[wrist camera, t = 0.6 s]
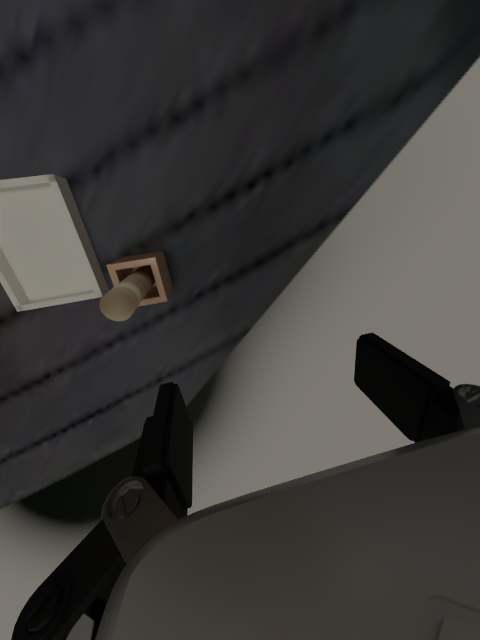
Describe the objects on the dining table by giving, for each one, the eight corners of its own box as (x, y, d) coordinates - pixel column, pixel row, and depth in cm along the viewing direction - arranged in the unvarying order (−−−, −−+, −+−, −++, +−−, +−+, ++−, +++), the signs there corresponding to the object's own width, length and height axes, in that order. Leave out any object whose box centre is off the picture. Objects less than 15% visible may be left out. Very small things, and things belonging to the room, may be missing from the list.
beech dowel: (135, 265, 35) (94, 294, 21) (155, 262, 36) (127, 289, 21) (141, 284, 37) (106, 323, 22) (160, 280, 37) (137, 317, 22)
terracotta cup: (124, 256, 36) (106, 264, 28) (163, 250, 36) (155, 257, 29) (136, 292, 38) (122, 309, 31) (172, 286, 39) (167, 301, 31)
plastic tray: (-33, 190, 29) (-56, 186, 27) (66, 178, 31) (53, 174, 28) (31, 304, 36) (17, 311, 33) (109, 291, 37) (102, 296, 34)
